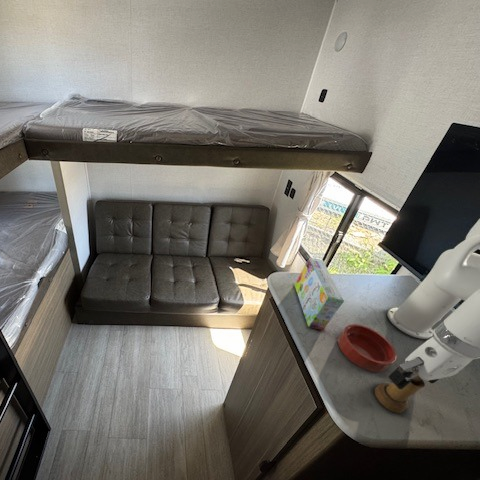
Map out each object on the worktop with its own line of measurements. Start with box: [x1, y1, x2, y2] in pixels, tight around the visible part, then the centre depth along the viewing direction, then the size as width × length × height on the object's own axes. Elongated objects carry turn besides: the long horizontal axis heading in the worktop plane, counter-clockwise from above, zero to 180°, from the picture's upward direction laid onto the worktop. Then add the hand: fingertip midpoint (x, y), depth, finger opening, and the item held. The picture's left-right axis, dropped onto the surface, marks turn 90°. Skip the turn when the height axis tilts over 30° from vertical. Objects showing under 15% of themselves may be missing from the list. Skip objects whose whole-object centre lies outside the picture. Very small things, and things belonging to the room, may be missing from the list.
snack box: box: [294, 257, 345, 331], centre depth 91 cm, size 21×6×15 cm, turn 168°
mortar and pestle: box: [374, 369, 426, 414], centre depth 64 cm, size 7×6×18 cm
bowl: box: [337, 323, 397, 373], centre depth 79 cm, size 13×13×5 cm
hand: (410, 380), depth 63 cm, fingers open, 9 cm apart
